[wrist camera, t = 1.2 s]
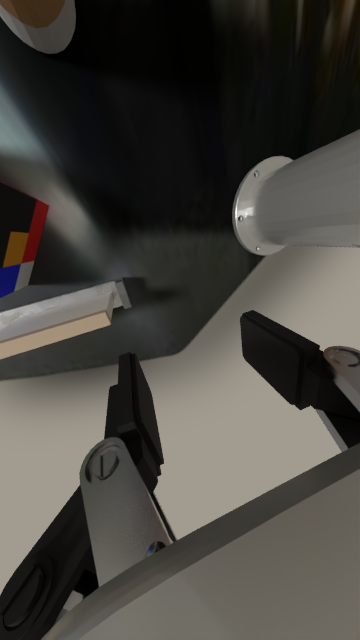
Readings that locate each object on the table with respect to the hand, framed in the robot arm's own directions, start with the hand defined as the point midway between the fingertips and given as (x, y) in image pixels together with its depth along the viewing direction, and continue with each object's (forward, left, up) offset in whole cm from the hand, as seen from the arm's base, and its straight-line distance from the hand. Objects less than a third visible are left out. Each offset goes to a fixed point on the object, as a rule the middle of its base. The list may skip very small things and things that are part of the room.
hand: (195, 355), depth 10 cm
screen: (+11, 0, -18) cm, 21 cm away
